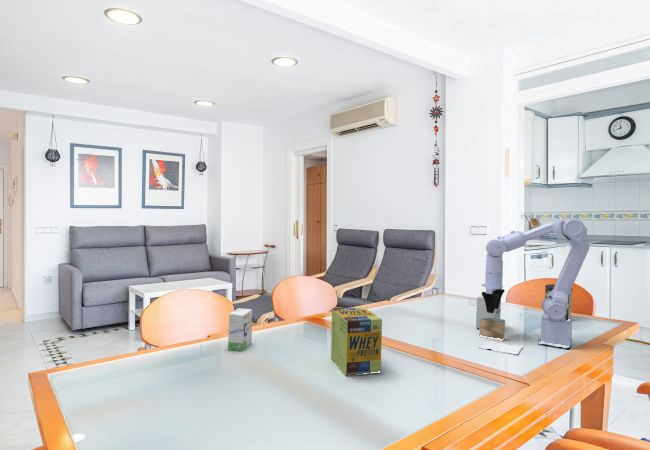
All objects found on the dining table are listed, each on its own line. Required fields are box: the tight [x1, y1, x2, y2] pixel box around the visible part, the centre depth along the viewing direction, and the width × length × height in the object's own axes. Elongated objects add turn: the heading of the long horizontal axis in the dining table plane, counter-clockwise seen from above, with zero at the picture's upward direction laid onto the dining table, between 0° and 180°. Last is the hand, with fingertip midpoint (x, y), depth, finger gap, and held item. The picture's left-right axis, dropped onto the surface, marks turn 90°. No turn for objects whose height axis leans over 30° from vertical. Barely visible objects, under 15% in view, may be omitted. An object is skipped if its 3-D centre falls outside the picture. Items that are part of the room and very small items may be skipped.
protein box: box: [330, 307, 383, 377], centre depth 127 cm, size 10×15×16 cm
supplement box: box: [475, 294, 502, 330], centre depth 169 cm, size 7×7×13 cm
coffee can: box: [543, 283, 573, 320], centre depth 187 cm, size 10×10×14 cm
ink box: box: [227, 307, 253, 352], centre depth 143 cm, size 9×5×12 cm, turn 168°
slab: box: [479, 317, 506, 339], centre depth 157 cm, size 8×3×7 cm, turn 57°
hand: (492, 310), depth 157 cm, fingers open, 7 cm apart
